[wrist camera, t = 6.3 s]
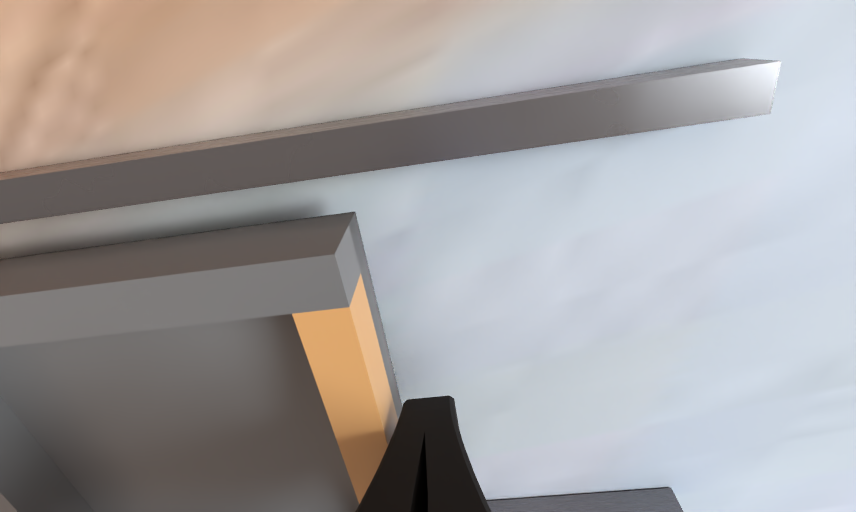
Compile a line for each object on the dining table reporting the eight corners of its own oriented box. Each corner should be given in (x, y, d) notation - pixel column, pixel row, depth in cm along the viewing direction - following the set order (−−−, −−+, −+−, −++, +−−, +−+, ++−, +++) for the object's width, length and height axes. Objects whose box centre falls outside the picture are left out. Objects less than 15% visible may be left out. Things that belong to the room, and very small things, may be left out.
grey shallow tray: (430, 491, 16) (428, 592, 13) (139, 513, 17) (77, 611, 14) (362, 195, 11) (334, 254, 8) (-53, 252, 12) (-214, 323, 9)
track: (668, 504, 16) (684, 536, 15) (138, 540, 18) (119, 572, 17) (742, 58, 9) (781, 60, 8) (-131, 193, 11) (-190, 209, 10)
